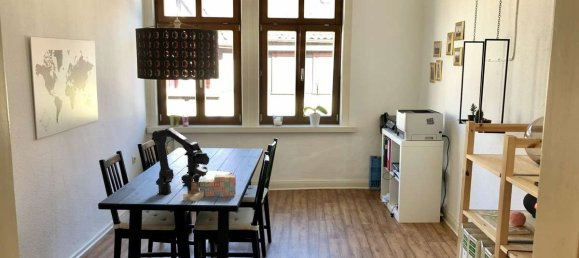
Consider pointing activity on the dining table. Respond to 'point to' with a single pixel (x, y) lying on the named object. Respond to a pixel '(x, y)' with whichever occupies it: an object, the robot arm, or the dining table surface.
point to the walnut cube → (194, 188)
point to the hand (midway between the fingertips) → (193, 188)
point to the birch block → (193, 196)
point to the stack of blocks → (219, 186)
